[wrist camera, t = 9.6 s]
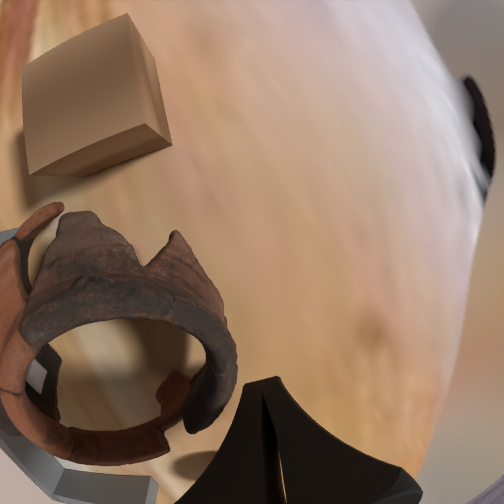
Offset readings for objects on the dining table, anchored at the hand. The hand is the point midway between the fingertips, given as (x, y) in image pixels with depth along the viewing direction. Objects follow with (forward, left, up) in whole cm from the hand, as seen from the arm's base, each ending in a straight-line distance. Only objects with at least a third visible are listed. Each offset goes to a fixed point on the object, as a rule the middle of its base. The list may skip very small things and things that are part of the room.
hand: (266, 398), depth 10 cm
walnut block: (+12, +3, -3) cm, 13 cm away
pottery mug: (+4, +7, -3) cm, 8 cm away
